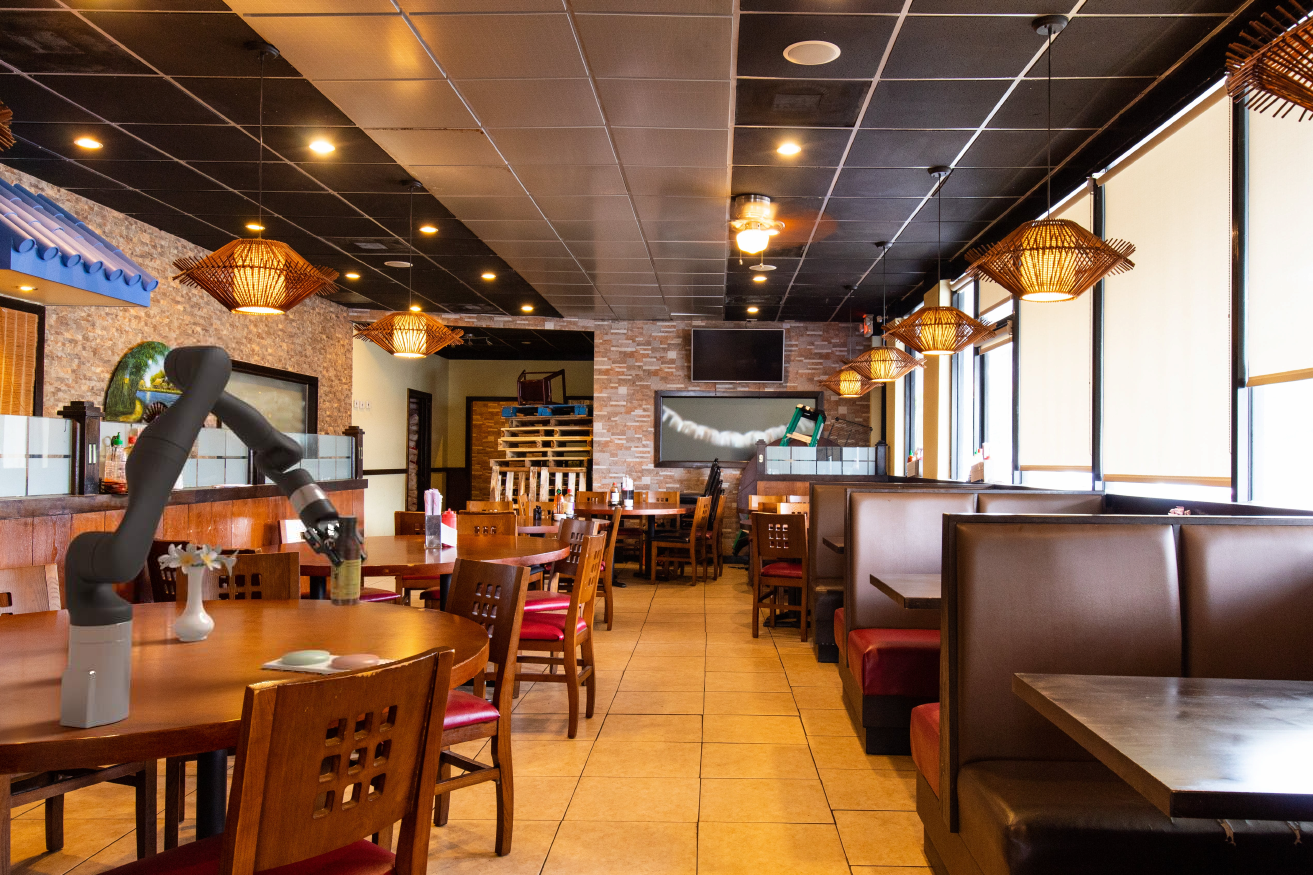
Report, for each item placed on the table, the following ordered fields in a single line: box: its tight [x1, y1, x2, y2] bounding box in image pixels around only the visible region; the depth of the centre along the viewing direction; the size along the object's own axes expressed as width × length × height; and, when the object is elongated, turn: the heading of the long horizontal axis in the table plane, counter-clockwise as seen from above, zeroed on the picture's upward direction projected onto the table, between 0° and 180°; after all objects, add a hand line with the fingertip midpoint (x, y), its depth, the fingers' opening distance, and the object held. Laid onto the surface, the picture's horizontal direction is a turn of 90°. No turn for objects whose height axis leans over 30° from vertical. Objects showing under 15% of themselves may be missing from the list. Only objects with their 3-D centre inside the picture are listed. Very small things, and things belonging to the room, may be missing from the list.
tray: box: [262, 649, 397, 675], centre depth 183 cm, size 12×26×2 cm, turn 75°
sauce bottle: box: [329, 514, 362, 607], centre depth 181 cm, size 6×6×20 cm
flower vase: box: [157, 542, 240, 643], centre depth 211 cm, size 13×18×25 cm
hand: (351, 563), depth 180 cm, fingers closed on sauce bottle, 6 cm apart
